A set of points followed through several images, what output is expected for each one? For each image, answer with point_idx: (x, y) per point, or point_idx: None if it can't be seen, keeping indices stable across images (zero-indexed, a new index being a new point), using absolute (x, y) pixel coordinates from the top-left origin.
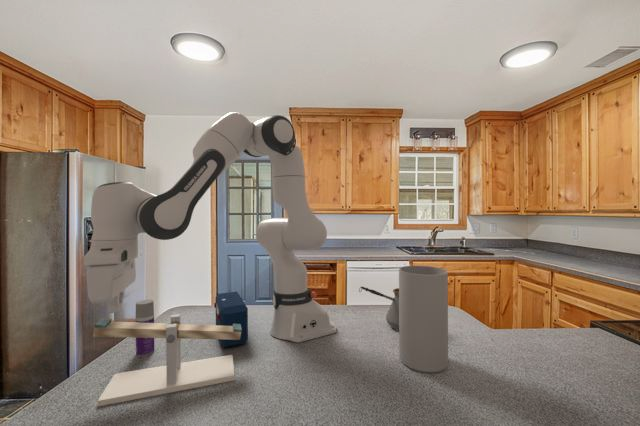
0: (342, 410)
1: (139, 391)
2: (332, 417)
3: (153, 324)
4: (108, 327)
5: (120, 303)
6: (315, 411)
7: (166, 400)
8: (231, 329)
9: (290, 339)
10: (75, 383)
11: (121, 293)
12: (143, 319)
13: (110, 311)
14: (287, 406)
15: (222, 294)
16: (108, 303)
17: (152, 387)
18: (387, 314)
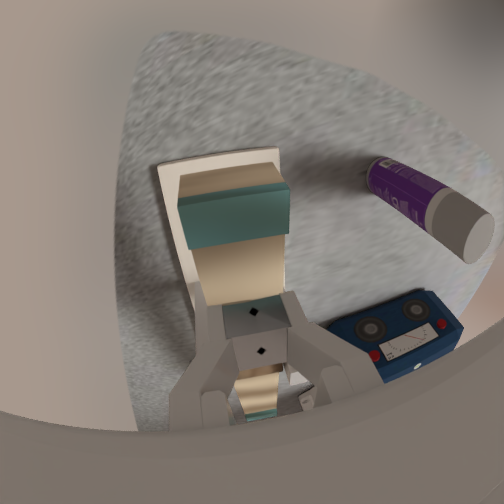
0: (147, 417)
1: (180, 239)
2: (137, 412)
3: None
4: (198, 249)
5: (263, 362)
6: (144, 406)
7: (164, 283)
8: (256, 411)
9: (308, 391)
10: (278, 61)
11: (313, 406)
12: (428, 218)
13: (208, 313)
14: (150, 394)
15: (449, 349)
16: (194, 360)
17: (192, 258)
18: None
